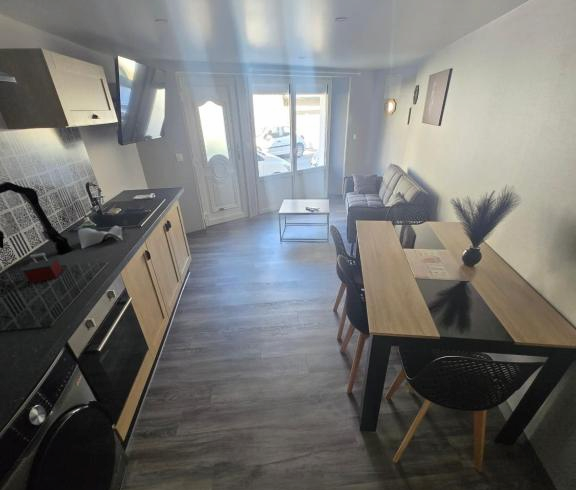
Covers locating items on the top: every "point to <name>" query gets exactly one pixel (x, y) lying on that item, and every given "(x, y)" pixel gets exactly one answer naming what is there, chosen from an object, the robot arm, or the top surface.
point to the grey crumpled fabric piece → (97, 235)
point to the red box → (44, 273)
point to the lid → (39, 263)
